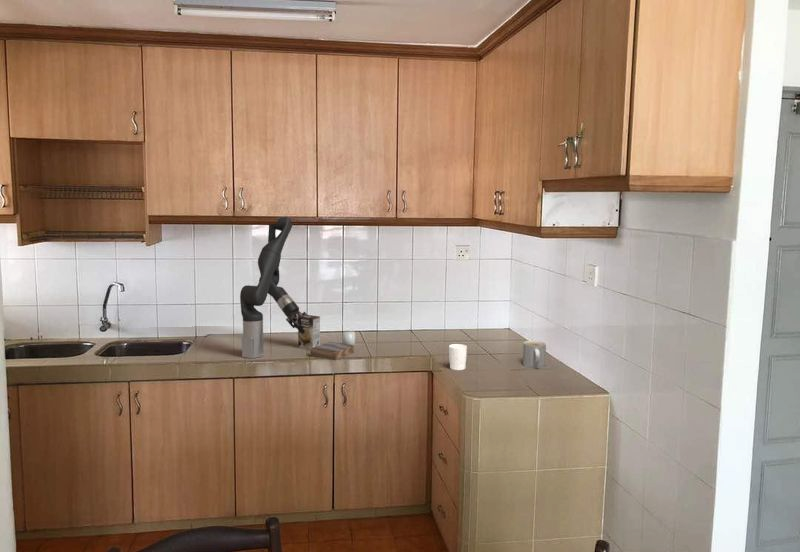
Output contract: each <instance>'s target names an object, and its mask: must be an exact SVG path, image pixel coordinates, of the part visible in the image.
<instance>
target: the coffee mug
mask: <svg viewBox="0 0 800 552" xmlns="http://www.w3.org/2000/svg"><path fill="white" fill-rule="evenodd" d="M522 346H523V347H522V365H523V366H524V367H527V368H532V369H539V368H541V369H542V368H544V367H545V366H546V351H547V343H545V342H544V341H539V340H527V341H523V345H522Z"/></svg>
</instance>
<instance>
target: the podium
mask: <svg viewBox="0 0 800 552" xmlns="http://www.w3.org/2000/svg"><path fill="white" fill-rule="evenodd" d="M354 353H355V349H354V345H351V344H344V343H343V342H335V341H327V342H325V343H322V344H320V345H319V346H316V347H313V348H312V349H311V350H310V357H313V358H318V357H319V359H324V358H326V360H332V361H337V360H339V358H340V359H342V358H344V356H345V357H347V356H349V355H352V354H354ZM346 355H347V356H346ZM341 357H342V358H341Z"/></svg>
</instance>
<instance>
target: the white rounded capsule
mask: <svg viewBox="0 0 800 552" xmlns="http://www.w3.org/2000/svg"><path fill="white" fill-rule="evenodd" d="M342 343H344V344H351V345H354V350H355V349H356V331H353V330H343V332H342Z"/></svg>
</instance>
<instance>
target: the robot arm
mask: <svg viewBox="0 0 800 552" xmlns="http://www.w3.org/2000/svg"><path fill="white" fill-rule="evenodd" d="M277 222H278V223H276V224H268V237H267V244H265V245H264V246H263V247H262V249H261V251H260V252H259V253H260V254H259V256H258V258H257V265H258V270H259V274H260V277H259V279H258V284H257V285H249V284H248V285H244V286H243V287H242V288H241V290H240V294H239V300H240V311H241V316H242V337H241V356H242V358H246V359H247V358H248V359H256V358H261V357H263V356H264V353H265V351H264V315H263V313H262V312H260V311H259V310H258V309H256V307H261V306H262V305H264V303H265V302H266V299H267V297H268V295H269V296H270V297H272V298H273V300H274V301H275V303H276V304H277V306H278V307H279V308H280V310H281V311H282V313H283V314H284V316H286V318H285V320H286V322H287V323H288V324H289V326H290V327H291V328H292V329H294V328H295V329H297V330H299V332H300V333H301V334H303V333H304V332H305V330H304V329H303V328H302V327H301V325H300V324H299V322H298V316H301V315H308V314H307V313H306V311H303V312H301V311H300V307H299V306H298V304H297V303H296V302H295V300H294V299H293V298H292V297H291V296H290V295H289V294H288V292H287V291H286V289H284V287H282V286H278V285H279V282H280V269H279V267H280V263H281V257H282V251H283V249H284V246H285V243H286V241H287V239H288V237H289V234H290V232H291V230H292V228H293V225H294V223H293V224H291V219H290V218H288V217H283V218H282V217H281V218H280V219H278V221H277ZM276 231H280V232H279V234H277V235H276Z"/></svg>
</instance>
